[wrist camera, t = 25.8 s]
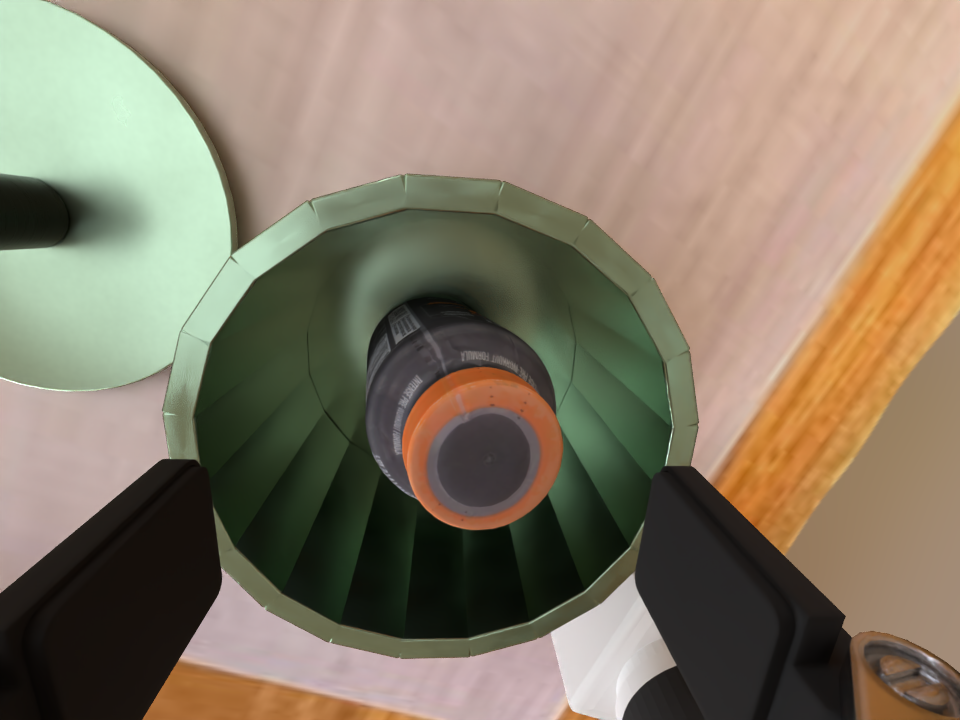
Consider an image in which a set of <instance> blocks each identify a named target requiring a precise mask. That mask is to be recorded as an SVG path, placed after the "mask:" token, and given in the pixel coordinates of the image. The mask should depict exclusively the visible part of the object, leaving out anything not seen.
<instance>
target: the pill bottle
mask: <svg viewBox="0 0 960 720" xmlns="http://www.w3.org/2000/svg"><path fill="white" fill-rule="evenodd" d="M366 379H367V382H366V413H365V424H366V433H367V437H368V442H369V445H370V448H371V451H372V453H373V456H374V458H375V460H376V462H377V464H378V465H379V467H380V468H381V470H382V471H383V473H384V474H385V475H386V476H387V477H388V478H389V480H390V481H391V482H392V483H394V484H395V485H396V486H397V487H398V488H399V489H400V490H402V491H403V492H404V493H406V494H408V495H409V496H411V497H413V498H415V499H417V500H419V501H420V503H421V504H422V505H423V507H424V508H425V509H426V510H427V511H428V512H430V513H431V514H432V515H433V516H434V517H436V518H437V519H439V520H441V521H442V522H444V523H446V524H449V525H451V526H454V527H458V528H462V529H469V530H483V529H494V528H497V527H501V526H505V525H507V524H510V523H512V522H514V521H516V520H518V519H519V518H521V517H523V516H524V515H526V514H527V513H528V512H530V511H531V510H532V509H533V508H535V507H536V506H537V505H538V504H539V503H540V502H541V501H542V500H543V498H544V497H545V496H546V495H547V494H548V492H549V490H550V489H551V487H552V486H553V484H554V482H555V480H556V478H557V475H558V472H559V470H560V467H561V461H562V454H563V438H562V433H561V428H560V425H559V422H558V420H557V418H556V398H555V391H554V387H553V384H552V381H551V378H550V375H549V373H548V371H547V369H546V367H545V365H544V363H543V362H542V360H541V359H540V357H539V356H538V355H537V353H536V352H535V351H534V350H533V349H532V348H531V347H530V346H529V345H528V344H527V343H526V342H524V341H523V340H522V339H521V338H520V337H518V336H516V335H515V334H514V333H512V332H511V331H509V330H507V329H506V328H503V327H502V326H500V325H498V324H497V323H495V322H493V321H491V320H489V319H487V318H485V317H484V316H482V315H481V314H479V313H477V312H475V311H473V310H472V309H470V308H468V307H466V306H465V305H463V304H461V303H459V302H456V301H454V300H451V299H447V298H440V297H422V298H416V299H412V300H409V301H407V302H405V303H402V304H400V305H398V306H397V307H395V308H394V309H392V310H391V311H390V312H389V313H388V314H387V315H386V316H384V317H383V318H382V320H381V321H380V322H379V324H378V325H377V327H376V328H375V330H374V332H373V334H372V336H371V339H370V343H369V347H368V353H367V378H366Z"/></svg>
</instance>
